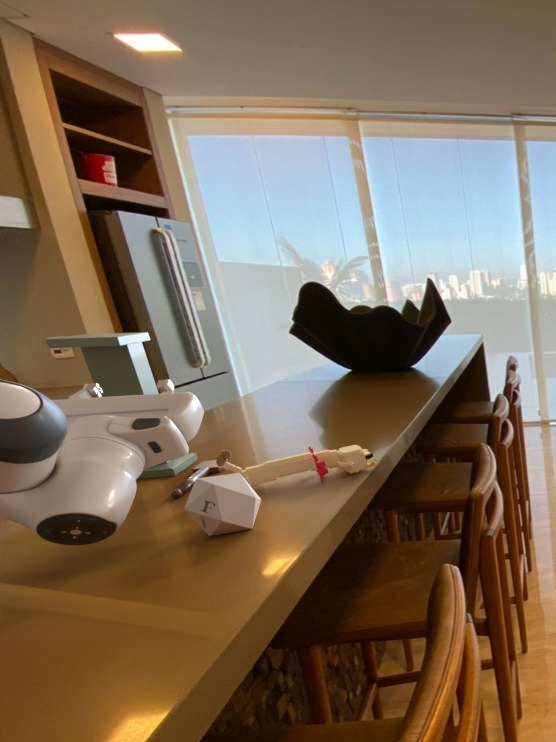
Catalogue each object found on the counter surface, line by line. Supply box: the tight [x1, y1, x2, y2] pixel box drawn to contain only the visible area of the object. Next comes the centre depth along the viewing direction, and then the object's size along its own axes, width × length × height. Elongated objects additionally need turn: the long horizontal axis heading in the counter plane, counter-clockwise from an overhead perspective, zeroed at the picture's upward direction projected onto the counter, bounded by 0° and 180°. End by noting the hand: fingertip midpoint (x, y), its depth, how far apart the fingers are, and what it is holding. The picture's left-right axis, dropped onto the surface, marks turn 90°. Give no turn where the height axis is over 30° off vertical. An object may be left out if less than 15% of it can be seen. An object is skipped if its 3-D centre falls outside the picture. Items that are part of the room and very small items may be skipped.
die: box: [183, 472, 262, 537], centre depth 83 cm, size 8×9×10 cm
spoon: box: [170, 459, 230, 499], centre depth 106 cm, size 21×4×2 cm, turn 19°
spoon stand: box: [45, 331, 199, 480], centre depth 107 cm, size 12×14×26 cm
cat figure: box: [215, 444, 378, 488], centre depth 104 cm, size 10×9×25 cm
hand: (131, 384), depth 89 cm, fingers open, 8 cm apart
